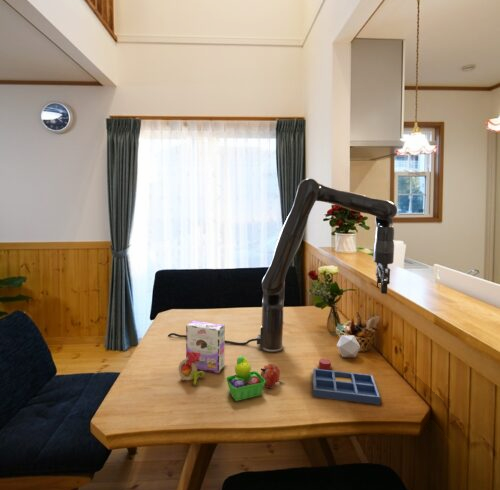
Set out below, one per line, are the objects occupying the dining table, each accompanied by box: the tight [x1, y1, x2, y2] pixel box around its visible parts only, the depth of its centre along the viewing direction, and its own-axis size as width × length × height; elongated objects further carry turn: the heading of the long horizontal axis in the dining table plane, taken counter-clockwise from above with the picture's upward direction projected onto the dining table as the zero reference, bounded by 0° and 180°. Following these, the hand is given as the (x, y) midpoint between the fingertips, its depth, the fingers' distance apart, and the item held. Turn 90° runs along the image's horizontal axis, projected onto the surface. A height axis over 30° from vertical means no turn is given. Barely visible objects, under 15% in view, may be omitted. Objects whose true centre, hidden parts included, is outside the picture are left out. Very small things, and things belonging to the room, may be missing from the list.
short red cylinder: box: [318, 358, 332, 370], centre depth 133 cm, size 4×4×3 cm
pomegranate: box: [259, 363, 282, 389], centre depth 120 cm, size 7×7×10 cm
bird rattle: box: [178, 351, 205, 386], centre depth 121 cm, size 6×11×9 cm
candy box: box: [185, 320, 226, 374], centre depth 131 cm, size 14×6×16 cm, turn 71°
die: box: [336, 334, 361, 358], centre depth 144 cm, size 8×9×10 cm
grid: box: [312, 368, 381, 405], centre depth 119 cm, size 21×14×2 cm
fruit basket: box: [225, 355, 265, 402], centre depth 114 cm, size 11×9×11 cm
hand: (381, 290), depth 140 cm, fingers open, 8 cm apart
